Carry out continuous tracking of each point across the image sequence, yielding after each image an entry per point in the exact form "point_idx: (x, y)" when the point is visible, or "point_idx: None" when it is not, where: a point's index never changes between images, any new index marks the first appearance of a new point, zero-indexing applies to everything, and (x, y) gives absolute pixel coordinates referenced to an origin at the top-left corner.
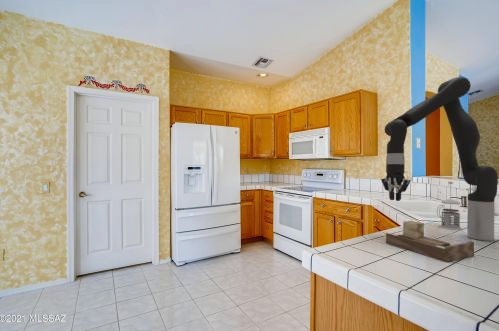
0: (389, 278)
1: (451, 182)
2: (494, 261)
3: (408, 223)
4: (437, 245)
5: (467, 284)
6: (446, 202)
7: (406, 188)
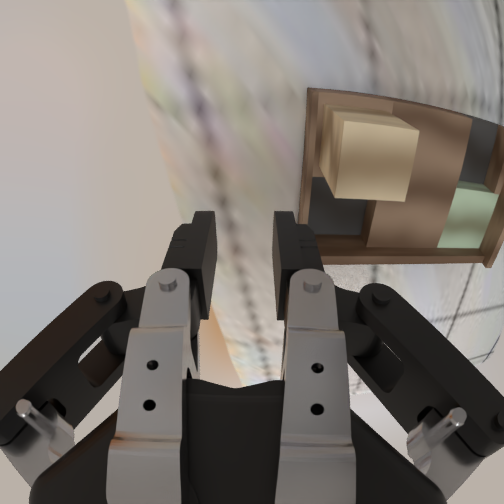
0: None
1: None
2: None
3: (366, 197)
4: (455, 192)
5: (490, 309)
6: None
7: (424, 326)
